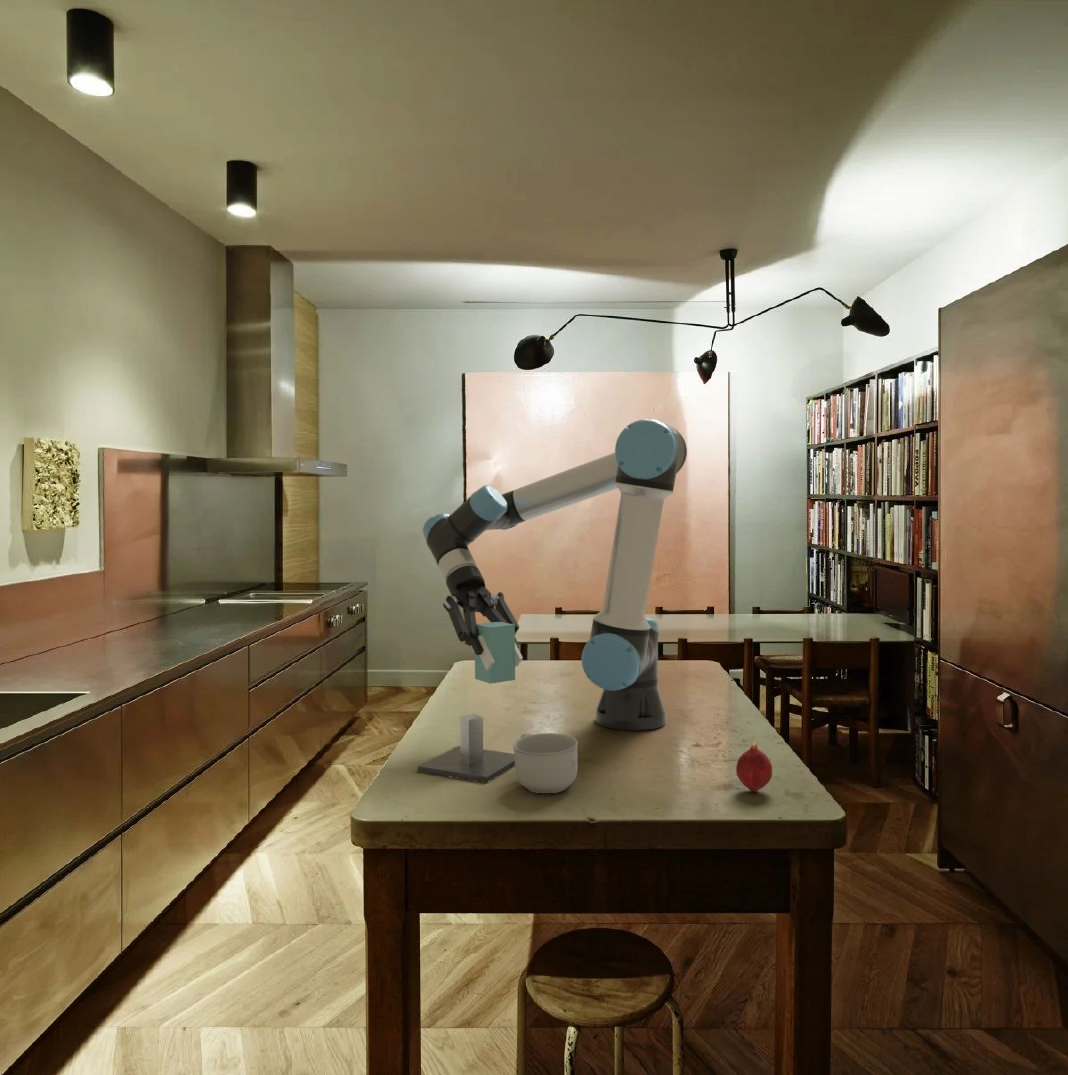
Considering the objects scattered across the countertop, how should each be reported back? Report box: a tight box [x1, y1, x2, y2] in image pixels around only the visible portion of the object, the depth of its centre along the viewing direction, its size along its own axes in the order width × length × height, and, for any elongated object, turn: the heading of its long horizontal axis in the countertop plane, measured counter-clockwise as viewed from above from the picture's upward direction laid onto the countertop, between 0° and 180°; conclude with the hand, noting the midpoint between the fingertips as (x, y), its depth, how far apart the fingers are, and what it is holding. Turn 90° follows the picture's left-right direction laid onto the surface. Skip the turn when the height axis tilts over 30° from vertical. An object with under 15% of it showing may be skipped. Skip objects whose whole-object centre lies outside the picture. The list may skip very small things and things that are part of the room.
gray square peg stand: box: [417, 713, 515, 783], centre depth 153 cm, size 14×14×9 cm
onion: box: [735, 742, 773, 793], centre depth 139 cm, size 6×6×8 cm
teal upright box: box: [474, 621, 516, 685], centre depth 167 cm, size 6×6×11 cm
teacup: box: [512, 732, 579, 794], centre depth 142 cm, size 14×11×8 cm
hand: (504, 664), depth 164 cm, fingers closed on teal upright box, 6 cm apart
